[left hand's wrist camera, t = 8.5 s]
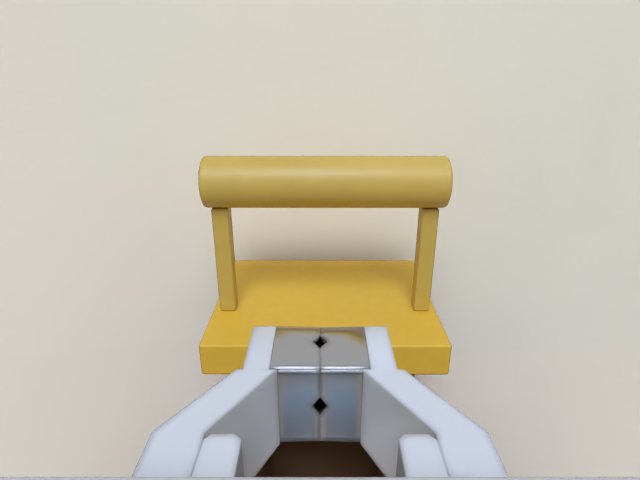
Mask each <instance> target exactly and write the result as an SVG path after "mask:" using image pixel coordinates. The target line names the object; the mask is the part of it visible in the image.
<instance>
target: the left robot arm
mask: <svg viewBox="0 0 640 480" xmlns="http://www.w3.org/2000/svg"><path fill="white" fill-rule="evenodd" d="M295 441H345V442H360V444H361V445H362V447H363V448H364V449H365V451H366V452H367V453H368V454H369V456H370V457H371V458H372V460H373V461H374V462H375V464H376V465H377V466H378V467H379V469H380V470H381V471H382V473H383V474H384V475H385V477H255V476H256V474H257V473H258V472H259V470H260V469H261V468H262V467H263V465H264V464H265V463H266V461H267V460H268V459H269V457H270V456H271V455H272V454H273V452H274V451H275V450H276V448H277V447H278V446H279V445H280V442H295ZM0 480H640V477H508V475H507V473H506V470H505V468H504V466H503V464H502V461H501V459H500V457H499V455H498V453H497V450H496V448H495V446H494V444H493V441H492V439H491V437H490V435H489V433H488V432H487V431H486V430H484V429H483V428H482V427H480V426H479V425H478V424H476V423H475V422H474V421H472V420H471V419H470V418H468V417H467V416H466V415H464V414H463V413H462V412H460V411H459V410H457V409H456V408H455V407H453V406H452V405H451V404H449V403H448V402H447V401H445V400H444V399H443V398H441V397H440V396H439V395H437V394H436V393H435V392H433V391H432V390H431V389H429V388H428V387H427V386H425V385H424V384H423V383H421V382H420V381H419V380H417V379H416V378H415V377H413V376H412V375H411V374H409V373H408V372H407V371H405V370H404V369H397V365H396V361H395V357H394V354H393V350H392V346H391V342H390V338H389V334H388V330H387V327H386V326H363V327H327V328H320V327H295V326H277V327H276V326H255V327H254V328H253V329H252V333H251V337H250V341H249V345H248V349H247V353H246V357H245V361H244V365H243V369H236V370H235V371H233V372H232V373H231V374H229V375H228V376H227V377H225V378H224V379H223V380H221V381H220V382H219V383H217V384H216V385H215V386H213V387H212V388H210V389H209V390H208V391H206V392H205V393H204V394H202V395H201V396H200V397H198V398H197V399H196V400H194V401H193V402H192V403H190V404H189V405H188V406H186V407H185V408H184V409H182V410H181V411H180V412H178V413H177V414H176V415H174V416H173V417H172V418H170V419H169V420H168V421H166V422H165V423H163V424H162V425H161V426H159V427H158V428H157V429H155V430H154V431H153V432H152V433H151V435H150V437H149V440H148V442H147V444H146V446H145V448H144V451H143V453H142V455H141V457H140V459H139V462H138V464H137V466H136V468H135V470H134V473H133V475H132V477H0Z"/></svg>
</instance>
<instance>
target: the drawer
mask: <svg viewBox="0 0 640 480" xmlns="http://www.w3.org/2000/svg"><path fill="white" fill-rule="evenodd" d="M452 179H453V178H452V167H451V163H450V160H449V158H448V157H446V156H205V157H203V158H202V160H201V163H200V167H199V192H200V197H201V200H202V203H203V205H204V206H205V207H208V208H212V210H211V212H212V223H213V234H214V245H215V256H216V267H217V277H218V288H219V300H218V302H217V305H216V307H215V309H214V312H213V314H212V316H211V319H210V321H209V324H208V326H207V328H206V331H205V333H204V335H203V338H202V340H201V342H200V345H199V351H200V360H201V368H202V373H203V374H231V373H232V372H233V371H235V370H236V369H243V365H244V361H245V357H246V353H247V349H248V345H249V341H250V337H251V333H252V329H253V328H254V327H255V326H276V327H277V326H295V327H320V328H327V327H363V326H386V327H387V330H388V334H389V338H390V342H391V346H392V350H393V354H394V357H395V361H396V365H397V369H404V370H405V371H407V372H408V373H409V374H411V375H412V376H413V377H415V376H414V374H448V370H449V363H450V355H451V347H452V346H451V344H450V342H449V340H448V337H447V335H446V333H445V331H444V329H443V326H442V324H441V322H440V320H439V318H438V315H437V313H436V311H435V309H434V307H433V304H432V302H431V300H430V294H431V285H432V275H433V265H434V255H435V245H436V236H437V226H438V216H439V209H438V208H443V207H446V206H447V205H448V203H449V200H450V197H451V192H452ZM231 208H419V217H418V229H417V241H416V252H415V264H414V263H413V261H235V256H234V243H233V230H232V217H231ZM255 477H385V475H384V474H383V473H382V471H381V470H380V469H379V467H378V466H377V465H376V464H375V462H374V461H373V460H372V458H371V457H370V456H369V454H368V453H367V452H366V451H365V449H364V448H363V447H362V445H361V444H360V442H345V441H295V442H280V445H279V446H278V447H277V448H276V450H275V451H274V452H273V454H272V455H271V456H270V457H269V459H268V460H267V461H266V463H265V464H264V465H263V467H262V468H261V469H260V470H259V472H258V473H257V474H256V476H255Z"/></svg>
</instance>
